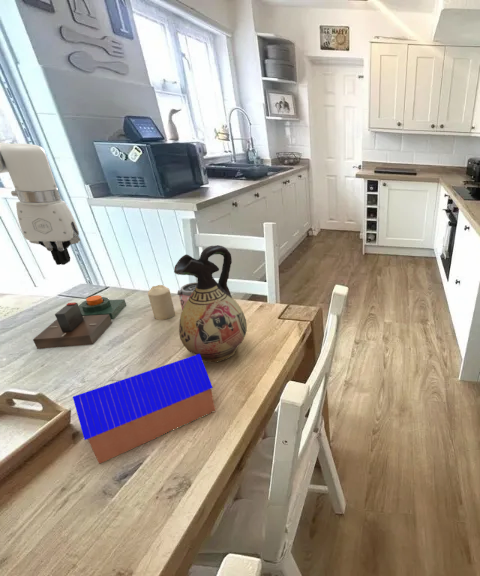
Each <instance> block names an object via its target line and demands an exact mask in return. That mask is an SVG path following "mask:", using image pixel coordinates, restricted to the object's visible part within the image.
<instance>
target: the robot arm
mask: <svg viewBox="0 0 480 576" xmlns="http://www.w3.org/2000/svg"><path fill="white" fill-rule="evenodd" d="M4 173H8V175H9V177H10V179H11V182H12V184H13V187H14V190H12V191H11V190H10V191H11V192H10V194H11V196H13V197H17V200H19V201H16V202H15V205H16V214H17V221H18V224H19V226H20V231H21V232H22V235H23V237H24V238H25V240H27V241H29V243H31V244H33V245H35V244H36V245H40V246H42V247H43V248H45V249H46V251H48V252H50V253H51V256H52V259H53V261H54V262H55V265H56V266H57V265H58V266H61V265H62V266H64V265H66V264H68V263H70V262H71V256H70V253H69V250H68V249H69V248H70V246H71V245H75V244H78V243H81V241H82V239H81V238H80V237H79V235H80V232H79V228H78V225H77V223H76V220H75V218H74V216H73V213H72V211H71V210H70V208H69V206H68V205H67V202H65V200H62V198H61V195H60V192H59V189H58V186H57V182H56V180H55V177H54V174H53V171H52V168H51V165H50V162H49V159H48V156H47V153H46V151H45V149H44V148H43V147H42V146H40V145H37V144H31V143H19V142H15V143H8V142H1V141H0V174H4Z"/></svg>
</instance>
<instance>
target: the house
mask: <svg viewBox="0 0 480 576" xmlns="http://www.w3.org/2000/svg"><path fill="white" fill-rule="evenodd" d="M212 389H213V385H212V382H211V379H210V376H209V374H208V371H207V369H206V366H205V364H204V361H203V360H202V358H201V356H200V354H197V355H195V354H193V355H191V356H188V357H186V358H183V359H179V360H177V361H174V362H171V363H168V364H165V365H162V366H160V367H156V368H153V369H150V370H147V371H145V372H144V371H143V372H141V373H139V374H138V373H137V374H135V375H132V376H129V377H126V378H124V379H120V380H117V381H114V382H112V383H109V384H106V385H103V386H100V387H97V388H94V389H92V390H88V391H85V392H83V393H79V394H76V395H74V396H72V400H73V403H74V406H75V410H76V414H77V418H78V421H79V425H80V428H81V432H82V436H83V439H84V441H86V440H88V443H89V446H90V447H91V449H92V452H93V454H94V456H95V458H96V459H97V462H98V464H103V463H104V462H107V461H109V460H111V459H113V458H115V457H118V456H120V455H122V454H124V453H126V452H128V451H131V450H133V449H135V448H138V447H139V446H143V445H144V444H146V443H148V442H150V441H153V440H155V439H157V438H159V437H162V436H164V435H166V434H168V433H170V432H169V431H171V430H173V429H175V430H177V429H178V428H177V427H179V428H181V427H180V426H182V425H184V424H186V425H188V424H190V423H192V422H191V421H193V420H195V421H197V420H199V419H200V418H199V417H201V418H203V417H202V416H204V415H206V414H208V415H210V414H212V413H213V412H212V411H215V412H216V406H215V402H214V397H213V393H212ZM211 412H212V413H211ZM209 413H210V414H209ZM206 416H207V415H206ZM204 417H205V416H204ZM198 418H199V419H198ZM196 419H197V420H196ZM189 422H190V423H189ZM193 422H194V421H193ZM187 423H188V424H187ZM184 426H185V425H184ZM182 427H183V426H182ZM176 428H177V429H176ZM173 431H174V430H173ZM167 432H168V433H167ZM171 432H172V431H171ZM165 433H166V434H165ZM163 434H164V435H163ZM161 435H162V436H161ZM156 437H157V438H156Z"/></svg>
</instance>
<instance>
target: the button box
mask: <svg viewBox="0 0 480 576" xmlns="http://www.w3.org/2000/svg"><path fill="white" fill-rule="evenodd" d="M101 297H102V299H103V302H102V303H100V304H97V305H88V304H87V301H86V300H83V301H81V303H80V304H78V306H79V308H80V311H81V313H82V316H90V315H107V314H109V315H110V318H111V321H112V320H115V319H116V317H117V316H118V315H119V314H120V313H121V312H122V311H123V310H124V309H125V307H126V306H127V303H126V300H125V299H124V298H123V299H109V297H105V296H101Z"/></svg>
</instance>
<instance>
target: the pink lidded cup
mask: <svg viewBox="0 0 480 576" xmlns="http://www.w3.org/2000/svg"><path fill="white" fill-rule="evenodd" d="M197 284H198V281H197V282H190V283H186V284H184V285H182V286H181V287H180V289H178V290H177V293H176V294H177V296H178V298H179V302H180V306H181V312H182V311H183V308H184V306H185V304H186V303H187V301H188V299H189V297H190V295H191V294H192V292H193V291H194V289H195V288H196V286H197Z"/></svg>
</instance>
